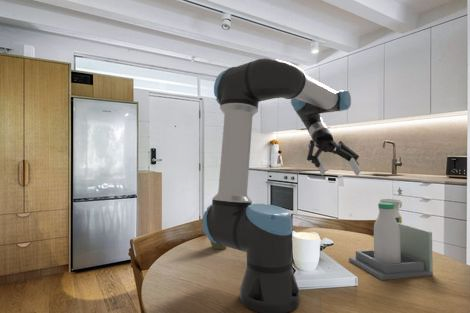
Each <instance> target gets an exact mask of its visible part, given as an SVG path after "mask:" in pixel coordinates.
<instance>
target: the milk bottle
mask: <svg viewBox="0 0 470 313" xmlns="http://www.w3.org/2000/svg"><path fill="white" fill-rule="evenodd" d="M377 204H378V211H379V212H378V216H377V218H376V220H375V221H374V226H373V250H374V259H376V260H378V261H380V262H382V263H384V264H394V263H401V249H400V229H399V225H398V223H397V221H396V219H395V217H394V213H393V211H394V204H392V203H380V202H379V203H377Z"/></svg>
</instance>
